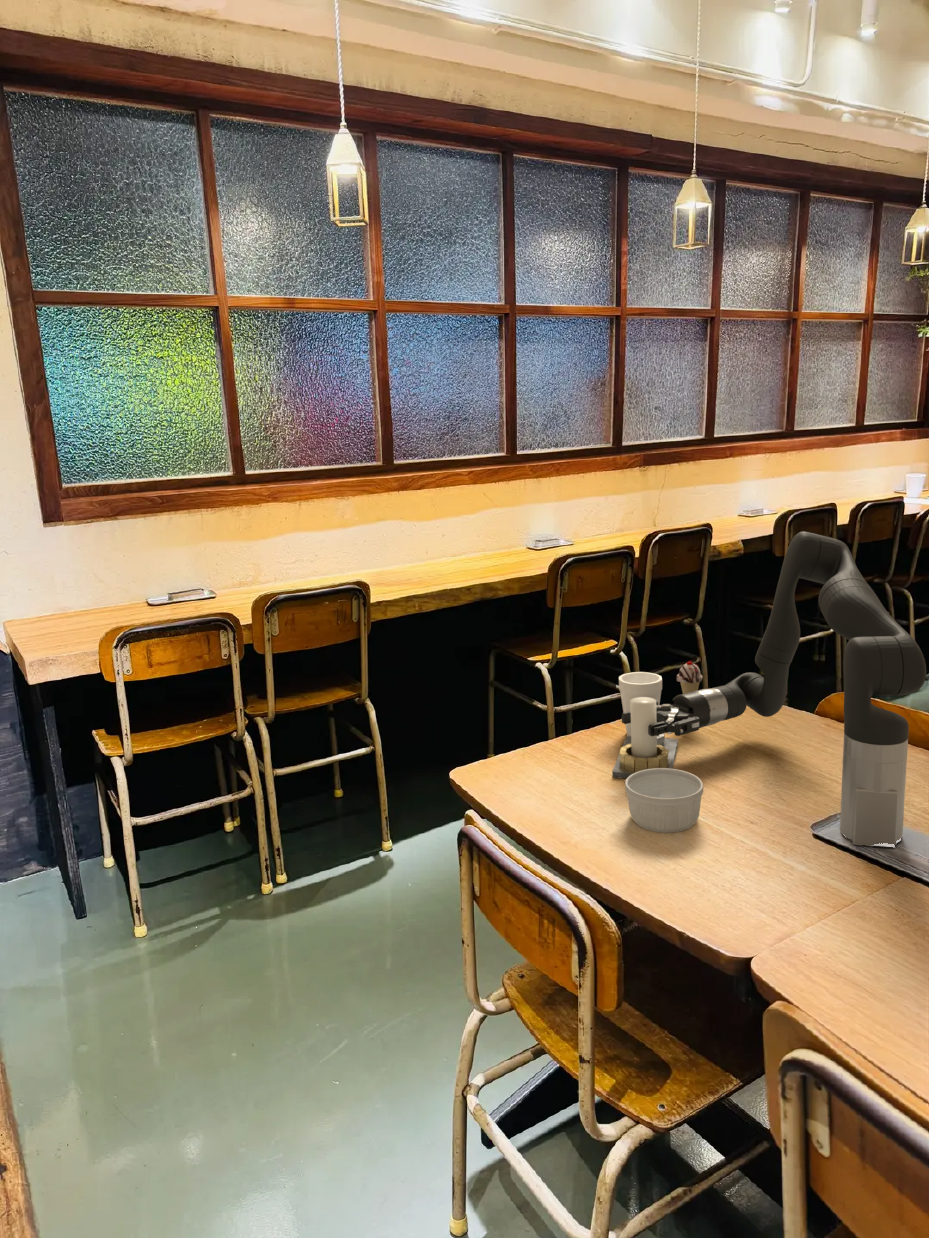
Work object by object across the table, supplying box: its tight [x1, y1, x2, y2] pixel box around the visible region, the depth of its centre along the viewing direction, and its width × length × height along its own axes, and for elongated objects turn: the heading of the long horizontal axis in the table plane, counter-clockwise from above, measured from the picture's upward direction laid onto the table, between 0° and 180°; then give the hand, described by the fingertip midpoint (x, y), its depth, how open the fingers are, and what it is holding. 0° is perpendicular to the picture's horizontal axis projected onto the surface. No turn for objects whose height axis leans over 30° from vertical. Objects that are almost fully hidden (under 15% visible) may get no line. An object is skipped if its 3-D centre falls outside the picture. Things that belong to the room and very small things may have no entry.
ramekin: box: [624, 768, 704, 834], centre depth 147 cm, size 13×13×7 cm
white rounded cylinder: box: [630, 697, 657, 758], centre depth 168 cm, size 5×5×13 cm
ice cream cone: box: [676, 660, 704, 694], centre depth 191 cm, size 6×6×15 cm
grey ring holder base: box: [611, 733, 679, 780], centre depth 173 cm, size 20×11×4 cm, turn 161°
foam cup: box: [618, 671, 663, 736], centre depth 187 cm, size 10×9×13 cm
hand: (635, 724), depth 166 cm, fingers open, 8 cm apart
